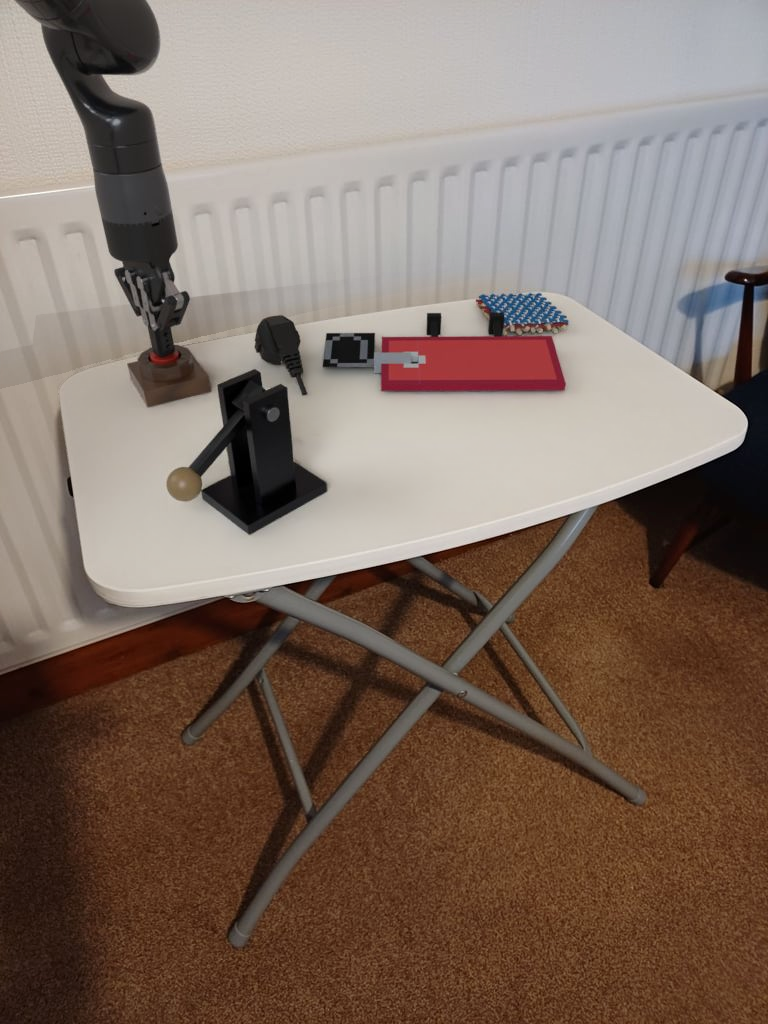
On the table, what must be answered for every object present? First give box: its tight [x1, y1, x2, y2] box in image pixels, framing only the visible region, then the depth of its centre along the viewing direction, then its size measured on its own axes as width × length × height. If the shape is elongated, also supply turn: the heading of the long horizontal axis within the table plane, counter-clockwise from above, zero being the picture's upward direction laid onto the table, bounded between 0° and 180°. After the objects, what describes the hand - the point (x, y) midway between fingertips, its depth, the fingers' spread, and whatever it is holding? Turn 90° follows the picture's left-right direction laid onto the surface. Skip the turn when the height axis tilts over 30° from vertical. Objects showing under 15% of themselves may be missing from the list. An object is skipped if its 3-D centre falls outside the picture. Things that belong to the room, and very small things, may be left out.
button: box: [150, 349, 180, 364], centre depth 96 cm, size 3×3×2 cm
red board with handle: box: [322, 312, 567, 392], centre depth 101 cm, size 30×3×15 cm
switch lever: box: [165, 381, 267, 503], centre depth 73 cm, size 13×3×3 cm, turn 135°
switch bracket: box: [200, 368, 328, 536], centre depth 77 cm, size 10×8×13 cm
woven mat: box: [475, 292, 570, 336], centre depth 111 cm, size 10×11×2 cm
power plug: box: [254, 314, 308, 396], centre depth 100 cm, size 6×8×12 cm
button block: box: [126, 344, 212, 408], centre depth 97 cm, size 8×8×4 cm
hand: (164, 353), depth 96 cm, fingers closed
